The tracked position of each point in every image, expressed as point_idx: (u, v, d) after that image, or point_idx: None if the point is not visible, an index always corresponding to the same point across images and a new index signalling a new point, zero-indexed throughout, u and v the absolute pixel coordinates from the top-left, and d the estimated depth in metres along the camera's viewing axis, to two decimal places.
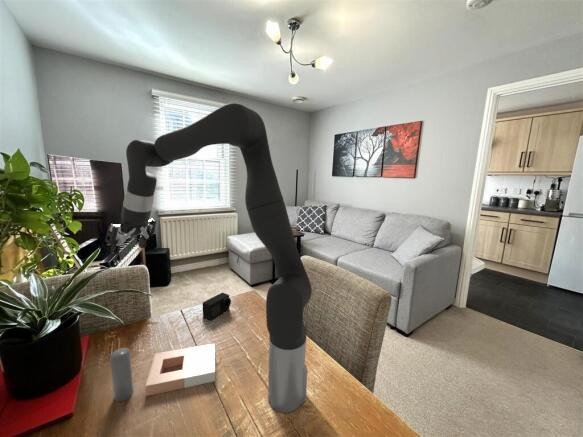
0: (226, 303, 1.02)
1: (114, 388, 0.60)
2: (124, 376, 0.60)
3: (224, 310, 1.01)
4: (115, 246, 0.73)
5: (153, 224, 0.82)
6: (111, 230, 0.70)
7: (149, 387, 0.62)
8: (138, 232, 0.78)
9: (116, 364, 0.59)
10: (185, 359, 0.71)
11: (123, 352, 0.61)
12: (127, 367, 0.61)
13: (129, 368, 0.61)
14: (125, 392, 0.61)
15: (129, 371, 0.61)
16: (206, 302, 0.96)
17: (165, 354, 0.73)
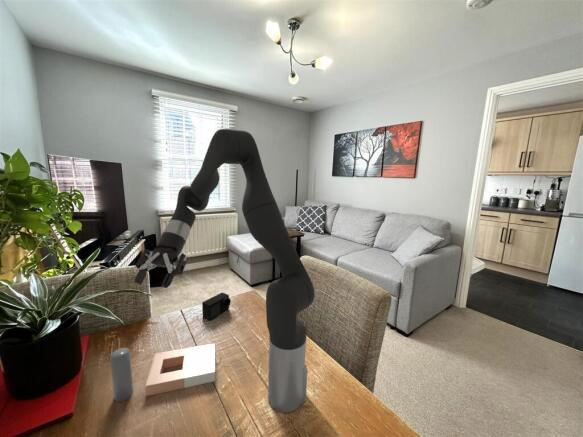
0: (226, 303, 1.02)
1: (114, 388, 0.60)
2: (124, 376, 0.60)
3: (224, 310, 1.01)
4: (139, 271, 0.72)
5: (180, 257, 0.73)
6: None
7: (149, 387, 0.62)
8: (163, 261, 0.72)
9: (116, 364, 0.59)
10: (185, 359, 0.71)
11: (123, 352, 0.61)
12: (127, 367, 0.61)
13: (129, 368, 0.61)
14: (125, 392, 0.61)
15: (129, 371, 0.61)
16: (206, 302, 0.96)
17: (165, 354, 0.73)
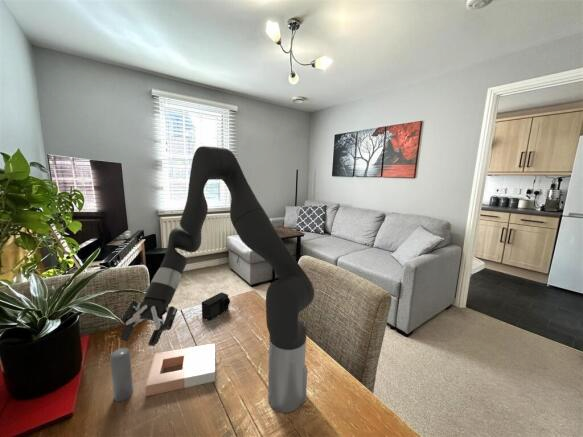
0: (225, 303, 1.02)
1: (114, 388, 0.60)
2: (124, 376, 0.60)
3: (223, 310, 1.01)
4: (126, 327, 0.68)
5: (169, 310, 0.69)
6: None
7: (149, 387, 0.62)
8: (151, 316, 0.69)
9: (116, 364, 0.59)
10: (185, 359, 0.71)
11: (123, 352, 0.61)
12: (127, 367, 0.61)
13: (129, 368, 0.61)
14: (125, 392, 0.61)
15: (129, 371, 0.61)
16: (205, 302, 0.96)
17: (165, 354, 0.73)
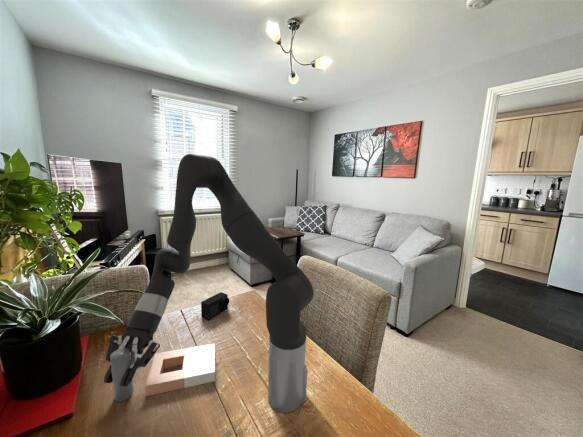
0: (224, 302, 1.02)
1: (114, 388, 0.60)
2: None
3: (222, 309, 1.01)
4: (110, 366, 0.62)
5: (150, 346, 0.63)
6: None
7: (149, 387, 0.62)
8: (131, 347, 0.63)
9: (116, 365, 0.59)
10: (185, 359, 0.71)
11: (123, 352, 0.61)
12: (127, 367, 0.61)
13: None
14: (125, 392, 0.61)
15: None
16: (205, 302, 0.96)
17: (165, 354, 0.73)
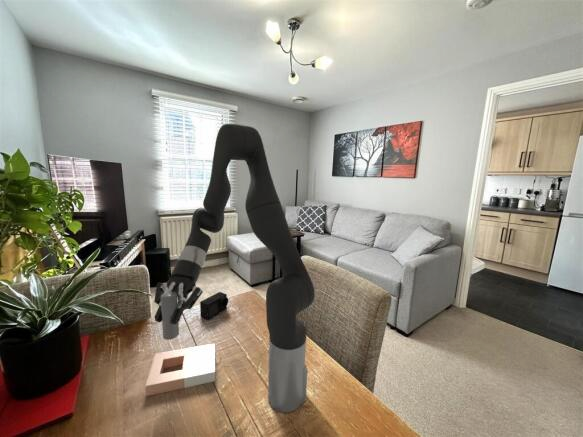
0: (223, 302, 1.02)
1: (164, 326, 0.65)
2: None
3: (221, 309, 1.02)
4: (159, 308, 0.67)
5: (195, 291, 0.68)
6: None
7: (149, 387, 0.62)
8: (177, 291, 0.69)
9: (167, 304, 0.64)
10: (185, 359, 0.71)
11: (171, 294, 0.66)
12: (175, 307, 0.66)
13: None
14: (173, 331, 0.66)
15: None
16: (204, 301, 0.96)
17: (165, 354, 0.73)
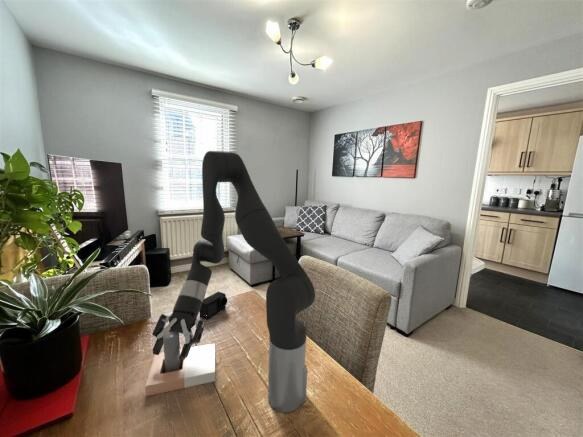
0: (222, 302, 1.02)
1: (166, 366, 0.68)
2: (175, 356, 0.68)
3: (220, 309, 1.02)
4: (157, 340, 0.69)
5: (198, 324, 0.70)
6: None
7: (149, 387, 0.62)
8: (180, 329, 0.70)
9: (169, 345, 0.66)
10: (185, 359, 0.71)
11: (174, 335, 0.68)
12: (177, 348, 0.68)
13: (179, 349, 0.69)
14: (176, 370, 0.68)
15: (179, 352, 0.69)
16: (203, 301, 0.97)
17: None
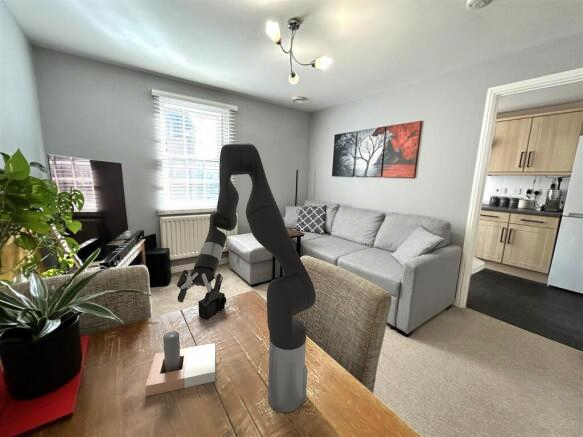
0: (222, 302, 1.03)
1: (166, 366, 0.68)
2: (175, 356, 0.68)
3: (220, 309, 1.02)
4: (180, 290, 0.80)
5: (217, 277, 0.81)
6: None
7: (149, 387, 0.62)
8: (202, 281, 0.80)
9: (169, 345, 0.66)
10: (185, 359, 0.71)
11: (174, 335, 0.68)
12: (177, 348, 0.68)
13: (179, 349, 0.69)
14: (176, 370, 0.68)
15: (179, 352, 0.69)
16: (202, 301, 0.97)
17: None
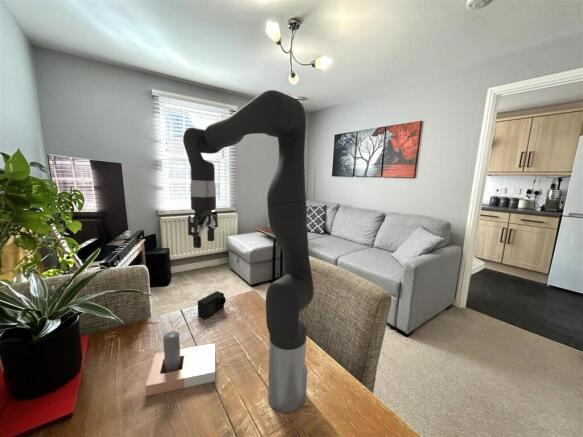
0: (221, 301, 1.03)
1: (166, 366, 0.68)
2: (175, 356, 0.68)
3: (219, 308, 1.02)
4: (197, 238, 0.74)
5: (216, 214, 0.84)
6: (192, 220, 0.72)
7: (149, 387, 0.62)
8: (209, 222, 0.80)
9: (169, 345, 0.66)
10: (185, 359, 0.71)
11: (174, 335, 0.68)
12: (177, 348, 0.68)
13: (179, 349, 0.69)
14: (176, 370, 0.68)
15: (179, 352, 0.69)
16: (201, 301, 0.97)
17: None
